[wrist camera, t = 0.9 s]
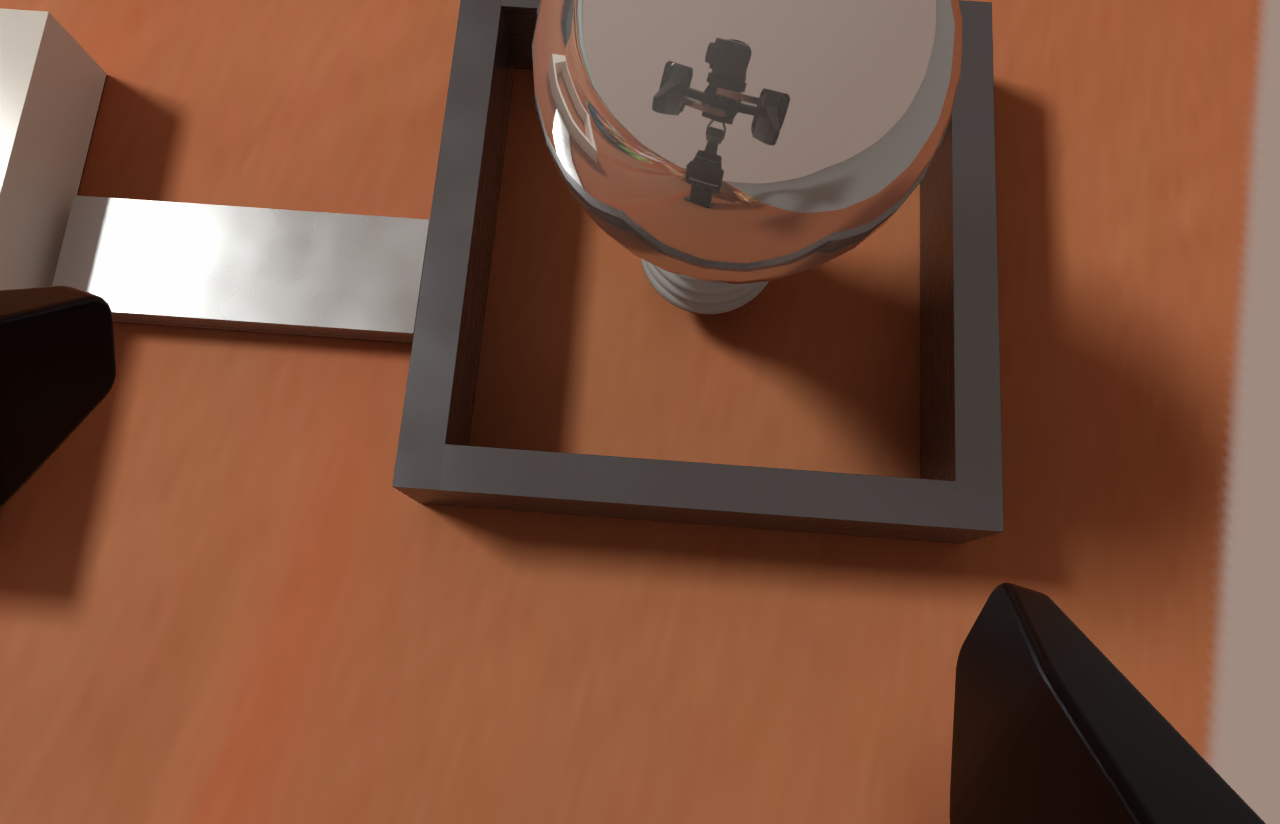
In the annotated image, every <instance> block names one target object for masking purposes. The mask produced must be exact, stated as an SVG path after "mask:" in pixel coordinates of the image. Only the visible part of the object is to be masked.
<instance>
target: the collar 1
mask: <svg viewBox="0 0 1280 824" xmlns="http://www.w3.org/2000/svg"><path fill="white" fill-rule="evenodd" d="M106 74H107V73H106V72H105V71H104V70H103V69H102V68H101V67H100V66H99V65H98V64H97V63H96V62H95V61H94V60H93V58H92V57H91V56H90V55H89V54H88V53H87V52H86V51H85V50H84V49H83V48H82V47H81V46H80V45H79V44H78V43H77V42H76V40H75V39H74V38H73V37H72V36H71V35H70V34H69V33H68V32H67V31H66V30H65V29H64V28H63V27H62V26H61V25H60V23H59V22H58V21H57V20H56V19H55V18H54V17H53V16H52V15H51V14H50V13H49V12H43V11H28V10H13V9H0V290H10V289H23V288H36V287H49V286H52V284H53V279H54V275H55V271H56V267H57V263H58V259H59V255H60V251H61V247H62V243H63V239H64V235H65V230H66V226H67V222H68V218H69V214H70V210H71V206H72V202H73V198H74V195H77V193H78V189H79V185H80V180H81V176H82V172H83V168H84V164H85V160H86V156H87V152H88V148H89V144H90V140H91V135H92V131H93V127H94V123H95V119H96V115H97V111H98V107H99V103H100V99H101V94H102V90H103V86H104V82H105V78H106Z"/></svg>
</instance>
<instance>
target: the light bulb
mask: <svg viewBox="0 0 1280 824" xmlns="http://www.w3.org/2000/svg"><path fill="white" fill-rule="evenodd" d="M961 58H962V15H961V10H960V6H959V1H958V0H540V2H539V5H538V8H537V14H536V21H535V27H534V34H533V41H532V72H533V85H534V97H535V109H536V112H537V115H538V119H539V122H540V125H541V128H542V132H543V135H544V138H545V141H546V145H547V147H548V150H549V152H550V155H551V158H552V160H553V163H554V165H555V167H556V169H557V170H558V172H559V174H560V176H561V178H562V179H563V181H564V183H565V185H566V186H567V188H568V190H569V192H570V193H571V195H572V197H573V198H574V199H575V200H576V201H577V202H578V204H579V205H580V206H581V207H582V208H583V209H584V210H585V211H586V213H587V214H588V215H589V216H590V217H591V218H592V219H593V221H594V222H595V223H596V224H597V225H598V226H599V227H600V228H601V229H602V230H603V231H604V232H605V233H606V234H607V235H609V236H610V237H611V238H613V239H614V240H615V241H617V242H618V243H619V244H620V245H622V246H623V247H624V248H626V249H627V250H628V251H630V252H631V253H632V254H634V255H635V256H637V257H639V258H641V260H642V265H643V268H644V271H645V274H646V276H647V278H648V280H649V281H650V283H651V284H652V286H653V287H654V288H655V290H656V291H657V292H658V293H659V294H660V295H661V296H662V297H663V298H665V299H666V300H667V301H669V302H670V303H671V304H673V305H675V306H677V307H679V308H681V309H683V310H686V311H689V312H693V313H699V314H719V313H725V312H729V311H732V310H734V309H737V308H739V307H741V306H743V305H745V304H747V303H748V302H750V301H751V300H752V299H754V298H755V297H756V296H757V295H758V294H759V293H760V292H761V291H762V290H763V289H764V288H765V286H766V285H767V284H768V282H769V281H775V280H779V279H782V278H786V277H789V276H793V275H796V274H800V273H803V272H807V271H809V270H812V269H814V268H816V267H818V266H820V265H822V264H824V263H826V262H828V261H830V260H832V259H834V258H836V257H838V256H840V255H842V254H844V253H846V252H848V251H850V250H852V249H854V248H855V247H857V246H858V245H859V244H860V243H862V242H863V241H864V240H865V239H867V238H868V237H869V236H871V235H872V234H873V233H874V232H876V231H877V230H878V229H879V228H881V227H882V226H883V225H884V224H885V223H886V222H887V221H888V220H889V219H890V218H891V216H892V215H893V214H894V213H895V212H896V211H897V210H898V208H899V207H900V206H901V205H902V204H903V202H904V201H905V200H906V199H907V198H908V196H909V195H910V194H911V193H912V191H913V190H914V189H915V188H916V187H917V185H918V184H919V183H920V182H921V180H922V179H923V178H924V176H925V174H926V172H927V170H928V168H929V166H930V164H931V162H932V160H933V158H934V156H935V154H936V152H937V150H938V148H939V146H940V144H941V142H942V139H943V137H944V135H945V132H946V130H947V127H948V125H949V122H950V120H951V116H952V112H953V108H954V104H955V100H956V96H957V92H958V88H959V84H960V71H961Z"/></svg>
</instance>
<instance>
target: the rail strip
mask: <svg viewBox="0 0 1280 824" xmlns="http://www.w3.org/2000/svg"><path fill="white" fill-rule="evenodd" d="M429 223H430V220H426V219H412V218H397V217H383V216H368V215H354V214H339V213H325V212H310V211H296V210H281V209H267V208H252V207H238V206H223V205H209V204H194V203H180V202H165V201H151V200H136V199H122V198H107V197H93V196H78V195H74V198H73V202H72V206H71V210H70V214H69V218H68V222H67V226H66V230H65V235H64V239H63V243H62V247H61V251H60V255H59V259H58V263H57V267H56V271H55V275H54V279H53V284H52V286H68V287H72V288H75V289H78V290H82V291H85V292H88V293H91V294H94V295H97V296H100V297H102V298H103V299H104V300H105V301H106V302H107V303H108V304H109V306H110V308H111V311H112V318H113V322H124V323H138V324H152V325H166V326H180V327H194V328H208V329H222V330H236V331H250V332H264V333H278V334H293V335H307V336H321V337H335V338H349V339H363V340H377V341H391V342H405V343H413V337H414V330H415V323H416V316H417V309H418V301H419V294H420V287H421V280H422V273H423V266H424V259H425V252H426V245H427V238H428V230H429Z"/></svg>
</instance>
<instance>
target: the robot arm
mask: <svg viewBox="0 0 1280 824" xmlns="http://www.w3.org/2000/svg"><path fill="white" fill-rule="evenodd" d="M115 375H116V361H115V346H114V332H113V318H112V311H111V308H110V306H109V304H108V303H107V302H106V301H105V300H104V299H103V298H102V297H100V296H97V295H94V294H91V293H88V292H85V291H82V290H78V289H75V288H72V287H68V286H49V287H36V288H23V289H10V290H0V508H1V507H2V506H3V505H4V504H5V503H6V502H7V501H8V500H9V499H10V498H11V497H12V496H13V495H14V494H15V493H16V492H17V491H18V490H19V489H20V488H21V487H22V486H23V485H24V484H25V483H26V482H27V481H28V480H29V479H30V478H31V477H32V475H33V474H34V473H35V472H36V471H37V470H38V469H39V468H40V467H41V466H42V465H43V464H44V462H45V461H46V460H47V459H48V458H49V457H50V456H51V455H52V454H53V453H54V452H55V451H56V450H57V448H58V447H59V446H60V445H61V444H62V443H63V442H64V441H65V440H66V439H67V438H68V437H69V435H70V434H71V433H72V432H73V431H74V430H75V429H76V428H77V427H78V426H79V425H80V424H81V423H82V421H83V420H84V419H85V418H86V417H87V416H88V415H89V414H90V413H91V412H92V411H93V410H94V409H95V407H96V406H97V405H98V404H99V403H100V402H101V401H102V400H103V399H104V398H105V397H106V395H107V394H108V393H109V391H110V389H111V387H112V385H113V383H114V380H115ZM950 824H1265V823H1264V821H1262V819H1260V817H1259V816H1258V815H1257V814H1256V813H1255V812H1254V811H1253V810H1252V809H1251V808H1250V807H1249V806H1248V805H1247V804H1246V803H1245V802H1244V801H1243V800H1242V798H1240V796H1239V795H1238V794H1237V793H1236V792H1235V791H1234V790H1233V789H1232V788H1231V787H1230V786H1229V785H1228V784H1227V783H1226V782H1225V781H1224V780H1223V779H1222V778H1221V777H1220V776H1219V774H1218V773H1217V772H1216V771H1215V770H1214V769H1213V768H1212V767H1211V766H1210V765H1209V764H1208V763H1207V762H1206V761H1205V760H1204V759H1203V758H1202V757H1201V756H1200V755H1199V754H1198V753H1197V751H1196V750H1195V749H1194V748H1193V747H1192V746H1191V745H1190V744H1189V743H1188V742H1187V741H1186V740H1185V739H1184V738H1183V737H1182V736H1181V735H1180V734H1179V733H1178V732H1177V731H1176V730H1175V728H1174V727H1173V726H1172V725H1171V724H1170V723H1169V722H1168V721H1167V720H1166V719H1165V718H1164V717H1163V716H1162V715H1161V714H1160V713H1159V712H1158V711H1157V710H1156V709H1155V708H1154V707H1153V705H1152V704H1151V703H1150V702H1149V701H1148V700H1147V699H1146V698H1145V697H1144V696H1143V695H1142V694H1141V693H1140V692H1139V691H1138V690H1137V689H1136V688H1135V687H1134V686H1133V685H1132V684H1131V682H1130V681H1129V680H1128V679H1127V678H1126V677H1125V676H1124V675H1123V674H1122V673H1121V672H1120V671H1119V670H1118V669H1117V668H1116V667H1115V666H1114V665H1113V664H1112V663H1111V662H1110V661H1109V659H1108V658H1107V657H1106V656H1105V655H1104V654H1103V653H1102V652H1101V651H1100V650H1099V649H1098V648H1097V647H1096V646H1095V645H1094V644H1093V643H1092V642H1091V641H1090V640H1089V639H1088V638H1087V636H1086V635H1085V634H1084V633H1083V632H1082V631H1081V630H1080V629H1079V628H1078V627H1077V626H1076V625H1075V624H1074V623H1073V622H1072V621H1071V620H1070V619H1069V618H1068V617H1067V616H1066V614H1065V613H1064V612H1063V611H1062V610H1061V609H1060V608H1059V607H1058V606H1057V605H1056V604H1055V603H1054V602H1053V601H1052V600H1051V599H1050V598H1049V597H1048V596H1046V595H1044V594H1043V593H1040V592H1037V591H1034V590H1030V589H1027V588H1024V587H1021V586H1018V585H1014V584H1011V583H1003V584H1000V585H998V586H997V587H996V588H995V589H994V590H993V592H992V593H991V595H990V596H989V598H988V600H987V602H986V604H985V605H984V607H983V609H982V611H981V613H980V614H979V616H978V618H977V620H976V621H975V623H974V625H973V627H972V629H971V630H970V632H969V634H968V636H967V638H966V639H965V641H964V643H963V645H962V647H961V650H960V653H959V656H958V661H957V666H956V681H955V702H954V722H953V743H952V763H951V784H950Z"/></svg>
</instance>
